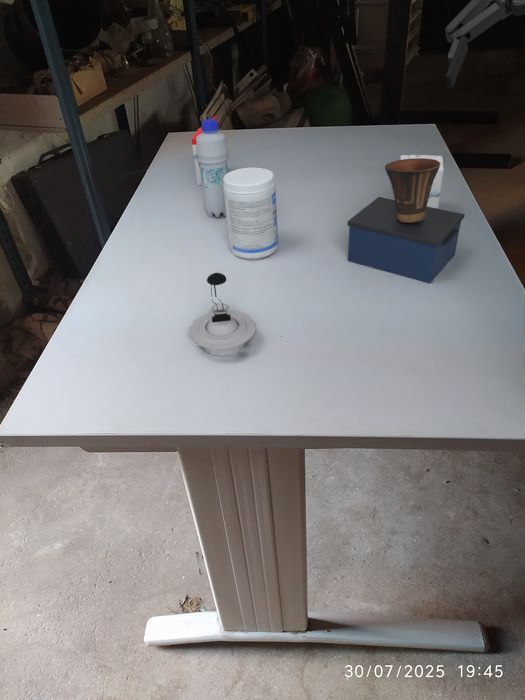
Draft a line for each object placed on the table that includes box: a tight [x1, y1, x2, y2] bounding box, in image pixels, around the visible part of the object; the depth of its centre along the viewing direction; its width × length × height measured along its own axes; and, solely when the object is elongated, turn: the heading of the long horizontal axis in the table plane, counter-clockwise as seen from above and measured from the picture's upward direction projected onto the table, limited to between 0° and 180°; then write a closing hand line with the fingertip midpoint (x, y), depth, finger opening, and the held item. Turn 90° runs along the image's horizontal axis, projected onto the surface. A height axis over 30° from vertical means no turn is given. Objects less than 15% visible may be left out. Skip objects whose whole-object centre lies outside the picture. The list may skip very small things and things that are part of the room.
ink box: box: [399, 154, 445, 209], centre depth 111 cm, size 9×8×12 cm
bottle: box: [196, 118, 230, 218], centre depth 114 cm, size 7×7×20 cm
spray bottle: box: [190, 114, 218, 187], centre depth 133 cm, size 8×5×15 cm, turn 172°
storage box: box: [346, 196, 465, 284], centre depth 98 cm, size 17×13×8 cm
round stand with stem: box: [188, 272, 257, 357], centre depth 79 cm, size 12×10×10 cm
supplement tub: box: [223, 167, 279, 260], centre depth 102 cm, size 10×10×15 cm
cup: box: [384, 158, 440, 223], centre depth 93 cm, size 9×9×10 cm
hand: (494, 86), depth 79 cm, fingers open, 13 cm apart
